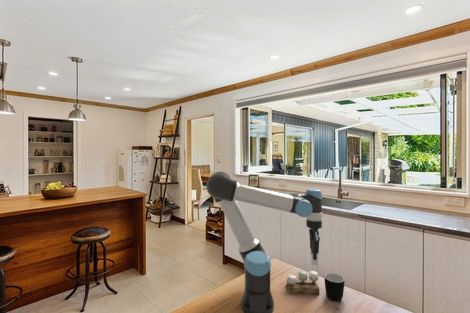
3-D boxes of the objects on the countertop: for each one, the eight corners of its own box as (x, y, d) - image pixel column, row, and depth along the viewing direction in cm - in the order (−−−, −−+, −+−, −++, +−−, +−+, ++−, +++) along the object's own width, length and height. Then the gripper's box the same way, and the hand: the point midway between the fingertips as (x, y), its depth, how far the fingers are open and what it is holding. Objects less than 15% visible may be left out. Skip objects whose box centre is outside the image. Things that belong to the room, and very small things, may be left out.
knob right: (310, 285, 126) (310, 275, 126) (308, 280, 131) (308, 270, 131) (318, 285, 126) (319, 275, 126) (316, 281, 130) (316, 271, 130)
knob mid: (299, 285, 127) (299, 274, 127) (297, 280, 131) (297, 270, 131) (307, 285, 126) (307, 274, 126) (306, 280, 131) (306, 270, 131)
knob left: (288, 289, 127) (288, 278, 127) (286, 284, 132) (286, 274, 131) (296, 289, 127) (296, 279, 127) (295, 284, 131) (295, 274, 131)
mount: (288, 293, 125) (289, 287, 125) (286, 284, 133) (286, 278, 133) (319, 294, 124) (319, 288, 124) (315, 285, 132) (315, 280, 132)
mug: (346, 304, 116) (347, 283, 116) (326, 302, 118) (327, 281, 117) (339, 290, 128) (339, 270, 128) (321, 288, 129) (321, 269, 129)
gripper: (325, 223, 121) (325, 271, 121) (318, 216, 134) (318, 259, 134) (309, 223, 121) (309, 270, 122) (304, 215, 134) (304, 259, 135)
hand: (314, 264), depth 128 cm, fingers closed
